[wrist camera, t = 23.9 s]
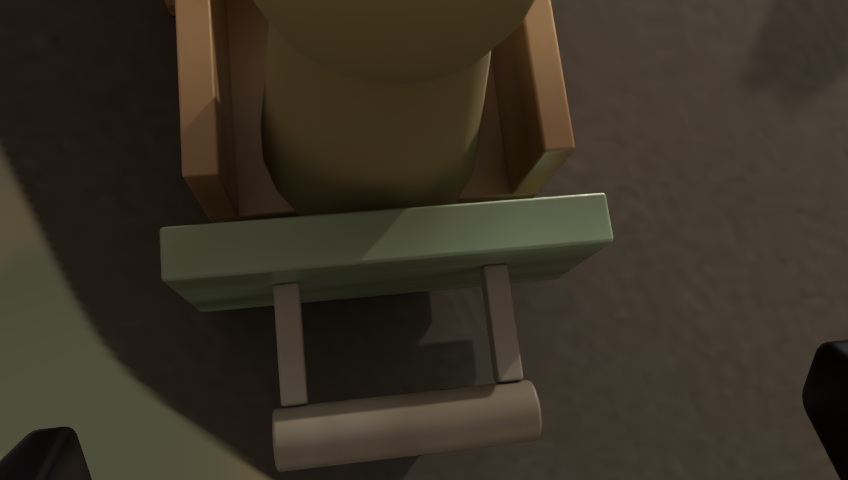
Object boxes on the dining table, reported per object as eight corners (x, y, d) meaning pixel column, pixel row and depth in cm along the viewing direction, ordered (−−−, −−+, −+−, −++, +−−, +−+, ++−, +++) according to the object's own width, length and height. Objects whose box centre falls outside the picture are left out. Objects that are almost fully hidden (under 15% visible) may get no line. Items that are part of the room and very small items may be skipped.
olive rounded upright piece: (505, 211, 21) (678, -12, 10) (289, 264, 20) (231, 78, 9) (444, 18, 22) (543, -362, 11) (238, 59, 21) (135, -316, 10)
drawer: (581, 429, 21) (648, 430, 16) (206, 475, 19) (167, 490, 15) (476, -246, 26) (505, -386, 21) (174, -247, 24) (137, -397, 20)
